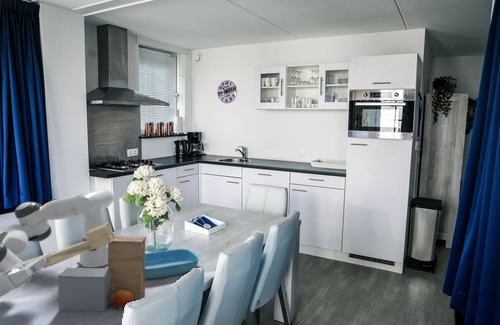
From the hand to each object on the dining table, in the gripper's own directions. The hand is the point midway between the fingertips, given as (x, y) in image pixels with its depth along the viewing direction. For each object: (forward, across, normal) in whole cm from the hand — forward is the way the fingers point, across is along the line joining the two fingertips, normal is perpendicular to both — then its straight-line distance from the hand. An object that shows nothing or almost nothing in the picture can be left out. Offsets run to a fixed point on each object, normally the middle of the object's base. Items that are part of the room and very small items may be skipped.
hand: (50, 258), depth 145 cm
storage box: (+1, -1, -24) cm, 25 cm away
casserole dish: (+23, -40, -38) cm, 59 cm away
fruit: (+14, -2, -32) cm, 35 cm away
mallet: (+10, -2, -4) cm, 11 cm away
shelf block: (+13, -11, -32) cm, 36 cm away
